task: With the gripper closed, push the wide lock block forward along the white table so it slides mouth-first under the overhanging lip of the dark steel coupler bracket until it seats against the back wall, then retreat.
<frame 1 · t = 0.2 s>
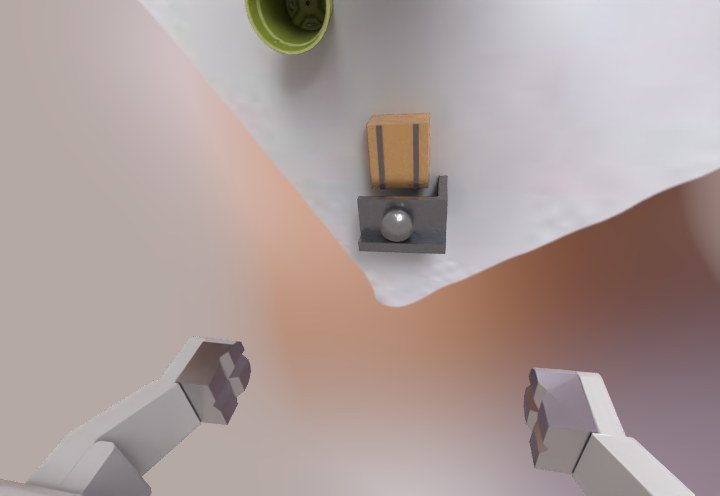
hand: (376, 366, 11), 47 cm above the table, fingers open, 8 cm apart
lock block: (401, 145, 55), on the table
coupler bracket: (403, 201, 60), on the table
plant pot: (310, 2, 47), on the table
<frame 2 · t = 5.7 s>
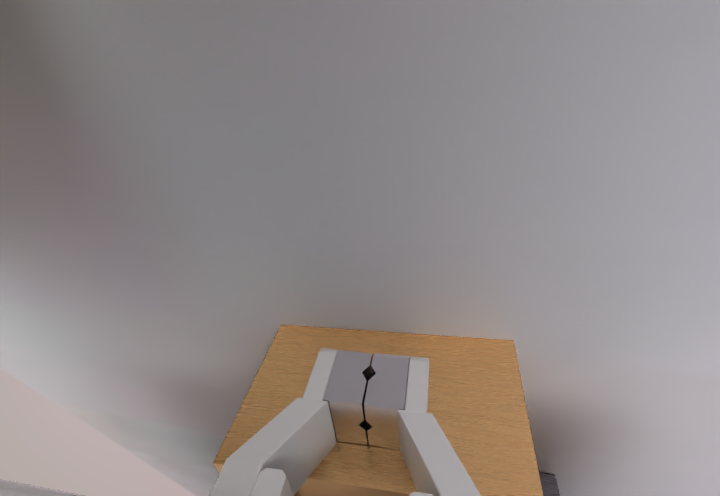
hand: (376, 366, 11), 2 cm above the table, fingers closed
lock block: (395, 409, 15), on the table
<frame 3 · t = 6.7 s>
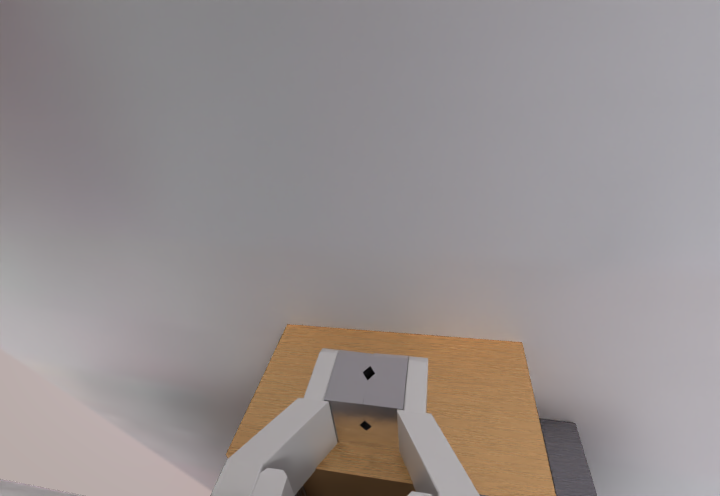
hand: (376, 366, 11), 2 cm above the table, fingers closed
lock block: (401, 404, 16), on the table
coupler bracket: (395, 457, 17), on the table
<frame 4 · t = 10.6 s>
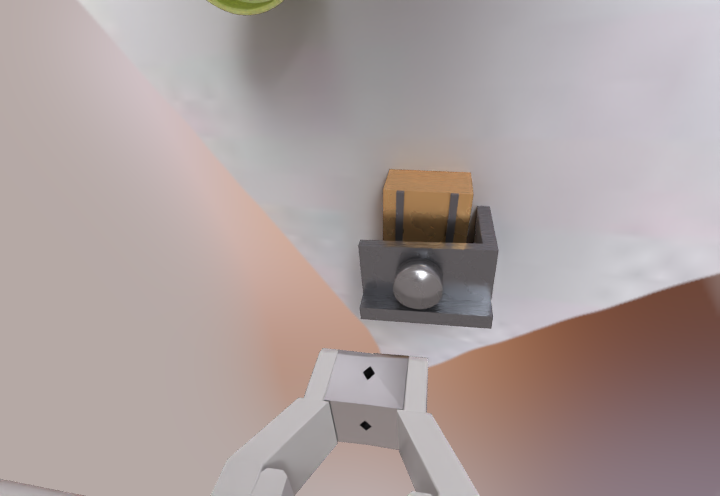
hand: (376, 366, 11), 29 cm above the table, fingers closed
lock block: (426, 209, 40), on the table
coupler bracket: (422, 239, 42), on the table
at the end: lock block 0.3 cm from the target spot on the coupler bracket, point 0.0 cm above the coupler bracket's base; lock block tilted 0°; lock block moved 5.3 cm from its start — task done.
